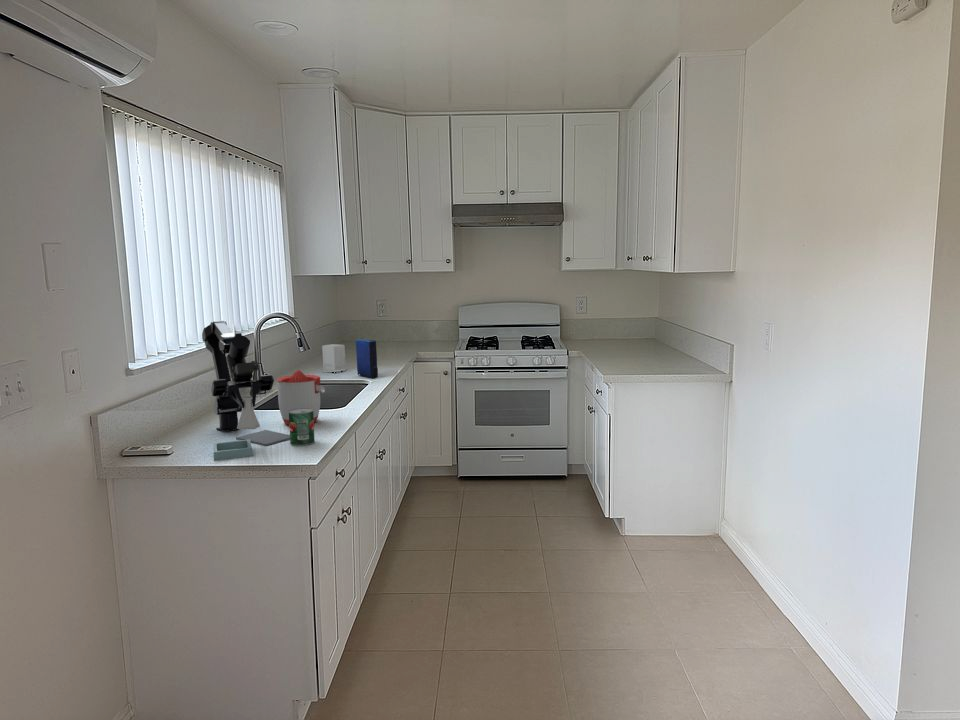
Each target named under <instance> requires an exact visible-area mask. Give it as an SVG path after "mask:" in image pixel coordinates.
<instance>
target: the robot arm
mask: <svg viewBox="0 0 960 720" xmlns="http://www.w3.org/2000/svg"><path fill="white" fill-rule="evenodd" d="M201 338H202V342H203V343H204V346H205V348H206V350H208V351H209V352H210V353H211V357H212V360H213V365H214V366H213V367H214V371H215V375H216V379H214V380H213V381H212V384H211V389H210V390H211V394H212V397H215V399H214V403H213V412H214V413H213V414H216V415H218V418H219V419H218V420H219V427H215V429H216V430H217V431H223V432H228V433H229V432H232V431H234V430H238V429H237V426H238V422H239V419H238V418H239V417H238V413H242V410H243V408H244V403H243V400H242V395H241V392H240V389H249V388H250V390H249V391H250V392H249V396H251V397H252V407H253V408H255V406H256V399H257V394H260V392H267V391H271V390H272V388H273V386H274V381H275V379H274V376H273V375H272V374H262V375H259V377H258V379H253V377H254V375H253V373H254V372H258V370H259V368H260V366H259V363H258V360H251V361H250V362H247V360H246V357H247V356H248V353H249V349H250V346H251V340H250V339H249V338H248V337H247V336H244V335H242V332H235V333H233V332H232V330H231V328H229V326H228V324H227V321H225V320H213V321H211V322H210V324H209V325H206V326H205V327H204V328H203V329H202V334H201ZM252 379H253V380H252Z"/></svg>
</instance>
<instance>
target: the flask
mask: <svg viewBox="0 0 960 720" xmlns="http://www.w3.org/2000/svg"><path fill="white" fill-rule="evenodd" d="M241 397H242V396H241ZM242 400H243V403H244V408H242V412H240V413H241V415H240V416H239V419H238V426H237V429H236V430H248V431H249V430H256V429H258V428H260V427H261V426H260V422H259V420H258V418H257V415H256V412H255V409H254V407H253V405H252V397H251V396H250V395H249V396H243V397H242Z"/></svg>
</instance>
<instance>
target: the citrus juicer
mask: <svg viewBox="0 0 960 720" xmlns="http://www.w3.org/2000/svg"><path fill="white" fill-rule="evenodd" d="M276 381H277V382H276V383H277V398H278V408H279V414H280V415H281V419H282V420H283V423H284V424H285V425H287V426H289V410H292V409H297V408H311V409H313V417H314V423H317V421H318V418H319V414H320V408H321V393H325V392H326V389H325V387H324V386H322V385H321V377H320V376H319V375H316V374H305V373H303V372H302V371H301V370H299V369H297V370H296V371H294V373H293V374H291V375H286V376H285V375H284V376H281V377H278V378H276Z"/></svg>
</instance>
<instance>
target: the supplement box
mask: <svg viewBox="0 0 960 720" xmlns="http://www.w3.org/2000/svg"><path fill="white" fill-rule="evenodd" d="M321 348H322V349H321V351H322V366H323V367H322V369H326V370H341V369H345V368H346V365H347V364H346V348H345V344H336V343H333V344H332V343H331V344H324V345H321ZM341 371H343V372H346V371H345V370H341ZM341 371H336V372H339V373H342V372H341ZM323 372H324V370H323ZM327 372H333V371H326V372H325V373H327ZM333 374H336V373H335V372H334V373H333Z"/></svg>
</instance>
